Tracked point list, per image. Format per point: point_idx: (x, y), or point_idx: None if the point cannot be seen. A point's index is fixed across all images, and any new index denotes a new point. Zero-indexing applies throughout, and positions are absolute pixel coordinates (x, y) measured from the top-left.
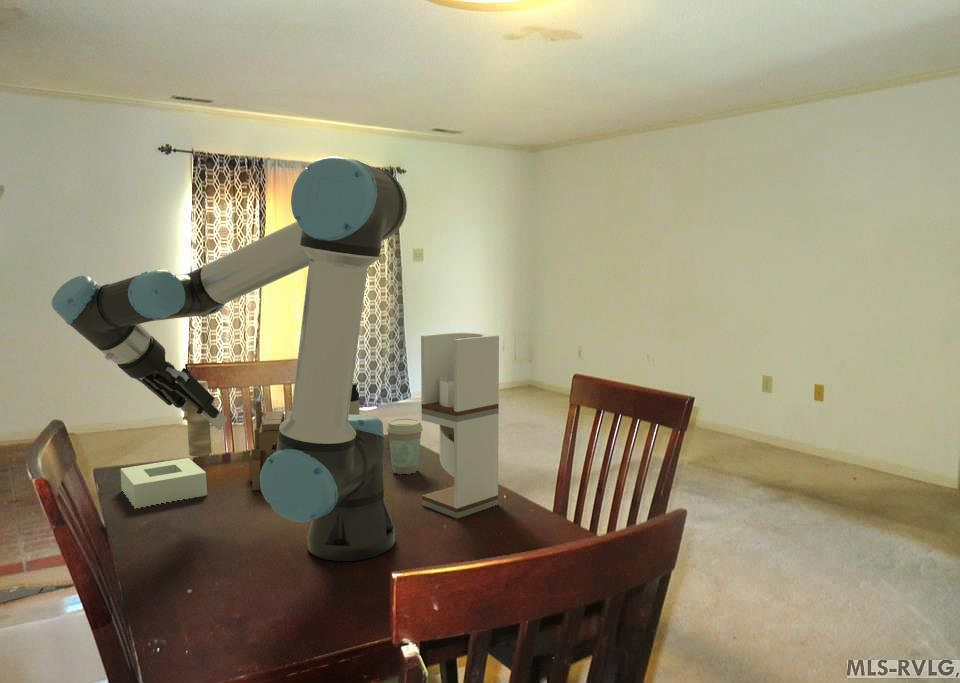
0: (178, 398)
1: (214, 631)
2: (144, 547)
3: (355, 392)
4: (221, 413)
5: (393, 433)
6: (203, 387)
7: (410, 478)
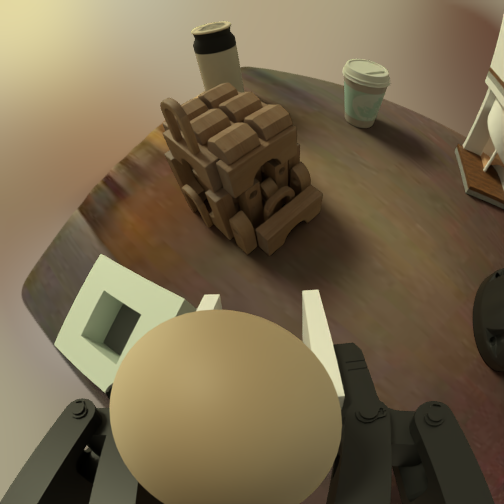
0: None
1: (501, 498)
2: (307, 501)
3: (232, 34)
4: (324, 314)
5: (373, 87)
6: (492, 500)
7: (385, 133)
